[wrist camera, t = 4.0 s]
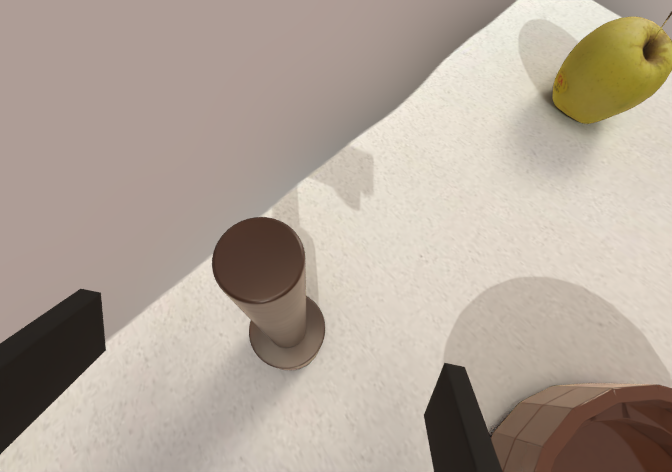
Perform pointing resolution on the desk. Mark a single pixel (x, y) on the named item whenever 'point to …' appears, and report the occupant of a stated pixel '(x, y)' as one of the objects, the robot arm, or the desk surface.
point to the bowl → (589, 430)
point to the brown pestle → (270, 290)
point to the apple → (613, 69)
